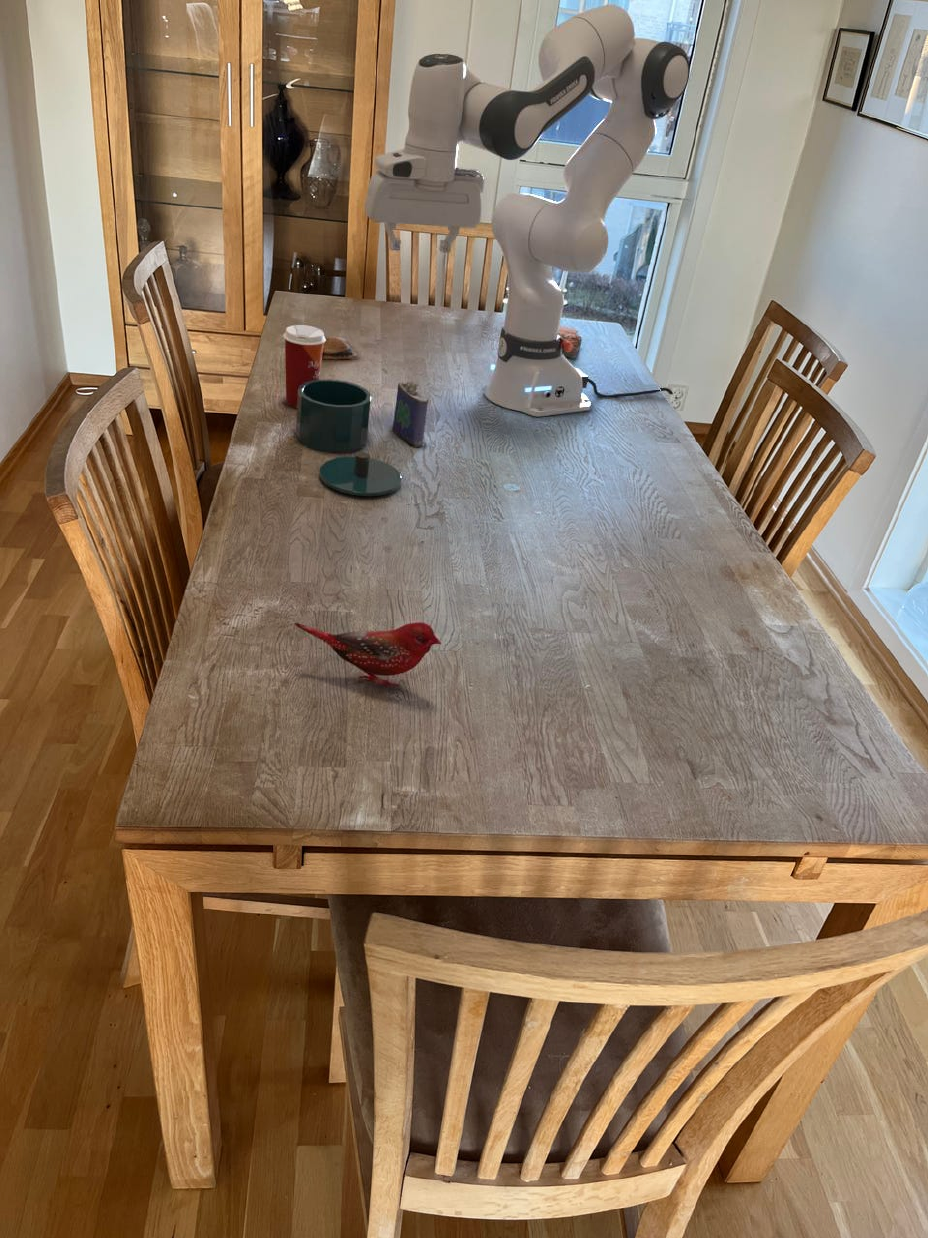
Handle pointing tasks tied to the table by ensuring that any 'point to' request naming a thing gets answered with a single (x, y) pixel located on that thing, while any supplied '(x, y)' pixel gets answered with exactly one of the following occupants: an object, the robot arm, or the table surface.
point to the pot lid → (360, 475)
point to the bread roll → (337, 349)
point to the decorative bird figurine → (381, 648)
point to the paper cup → (301, 358)
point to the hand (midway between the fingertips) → (419, 250)
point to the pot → (333, 415)
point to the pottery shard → (570, 340)
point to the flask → (410, 414)
